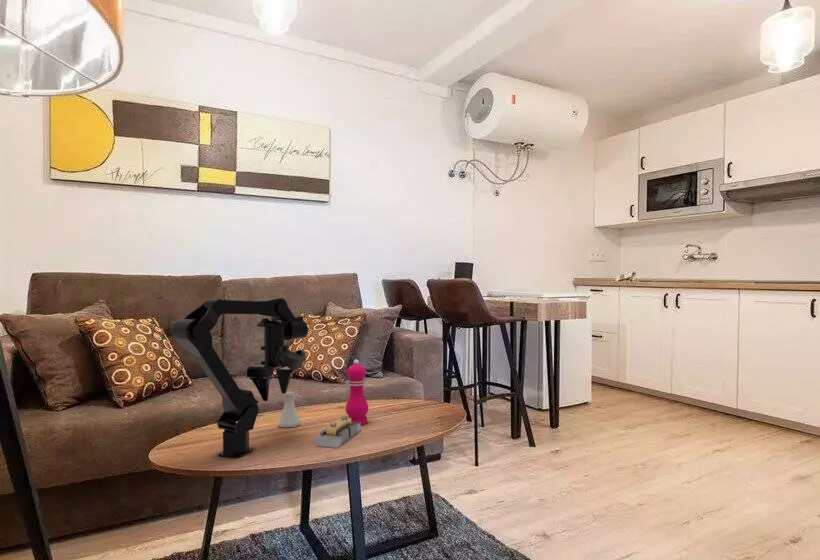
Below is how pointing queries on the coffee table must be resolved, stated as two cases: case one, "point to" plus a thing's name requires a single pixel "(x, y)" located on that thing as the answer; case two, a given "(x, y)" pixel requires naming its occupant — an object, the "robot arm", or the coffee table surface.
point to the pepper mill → (356, 394)
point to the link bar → (338, 426)
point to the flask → (289, 413)
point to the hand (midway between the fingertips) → (275, 397)
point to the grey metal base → (341, 438)
